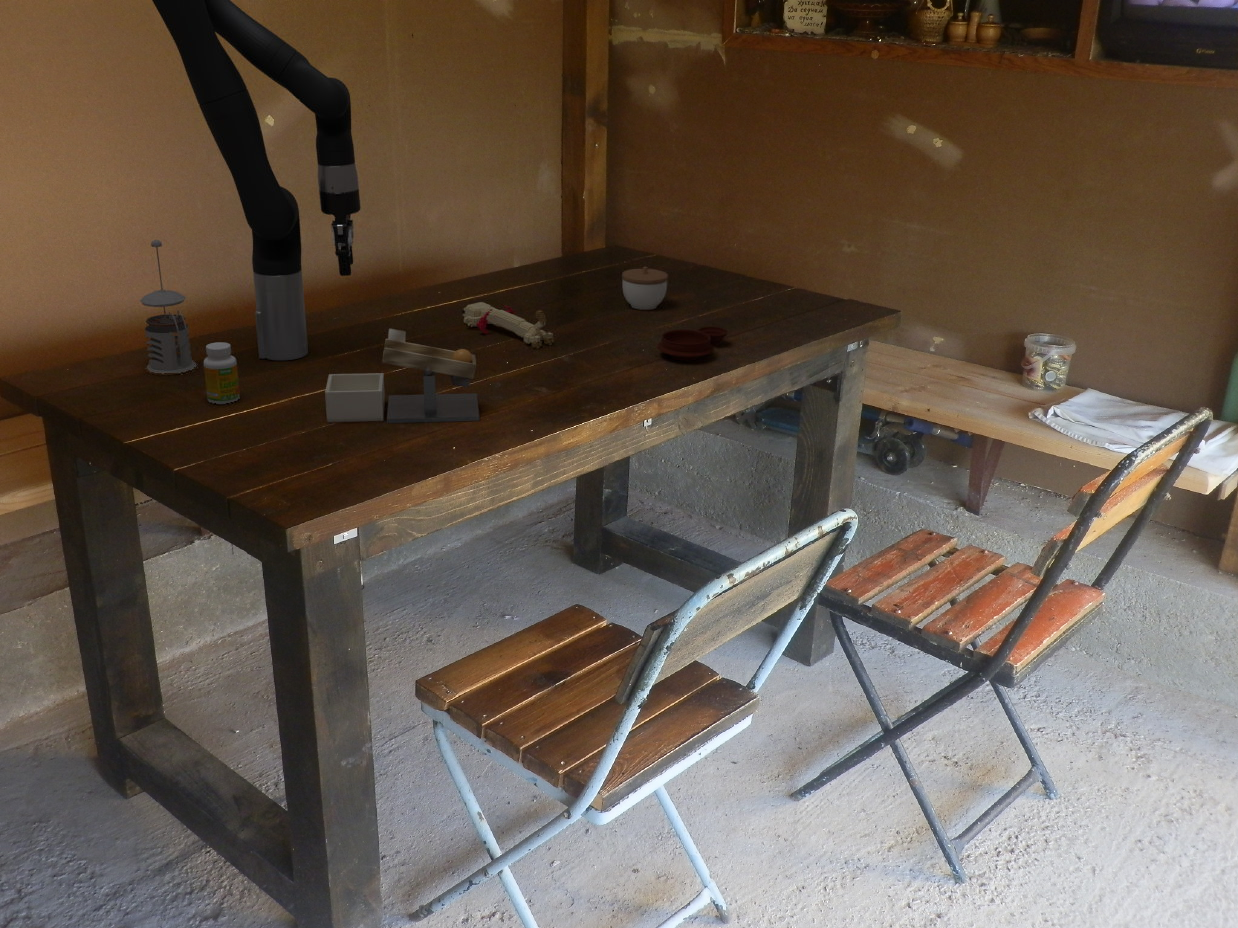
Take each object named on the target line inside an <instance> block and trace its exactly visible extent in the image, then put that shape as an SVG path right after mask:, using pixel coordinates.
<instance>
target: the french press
mask: <svg viewBox="0 0 1238 928" xmlns="http://www.w3.org/2000/svg"><path fill="white" fill-rule="evenodd" d="M150 246H151V247H152V248H156V257H157V265H158V274H159V281H160V290H159V289H158V290H155V291H152V292H150V293H148V294H145V295H144V296H143V297H142V298H141V299H140V301H139V302H140V303H141V304H142V305H143V306H145V307H149V308H150V307H152V308H163V313H164V314H158V315H157V314H156V315H153V316H151V317H149V318H148V317H147V318H146V320H145V323H146V324H147V325H146V326H145V327H144V332H145V339H149V338H150V339H149V340H147V341H146V346H148V347H147V352H150V351H151V352H150V353H148V358H149V360H148V365H146V367H147V369H148V370H149V371H150V372H154V373H162V374H164V373H181V372H186V371H188V370H192V369H194V367H196V366H197V365H198V364H197V363H196V361H194V360H193V359H192V351H191V350H192V349H191V343H190V342H191V341H190V332H189V325H188V324H187V323H186V317H185V316H183V314H182V312H181V311H180V310H179V309H177V314H173V312H171V311H168V314H166V313H167V312H166V307H173V306H177V305H180V304H182V303H184V301H185V300H186V298H187V297H186V296H185V295H183V294H182V293H180V292H177V291H174V290H169V289H163V288H164V287H163V282H162V273H161V266H160V258H159V257H160V255H159V248H161V247H162V246H163V244H162V241H160V240H159V239H154V240H152V241H151V243H150ZM176 333H177V335H175V334H176ZM176 340H177V341H176ZM149 345H150V346H149ZM177 353H179V354H177ZM150 358H151V359H150ZM196 364H197V365H196Z"/></svg>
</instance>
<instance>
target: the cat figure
mask: <svg viewBox="0 0 1238 928" xmlns="http://www.w3.org/2000/svg"><path fill="white" fill-rule="evenodd" d="M504 307H505V308H506V309H507V310H503V309H497V308H495V307H494V306H492V305H491V304H488V303H485V302H484V301H483V302H482V301H480V302H475V303H471V304H470V303H469V304H467V305H466V307H464V308H462V311H461V312H462V317H464V318H463V323H465V324H467V326H469V327H471V328H473V327H477V328H478V329H479V330H480V331H481V333H483V334H485V335H489V334H490V333H488V330H487V324H488V325H490V324H492V325H493V326H496V327H502V328H504V329H505V330H507V331H510V332H513V333H514V334H516V336H518V337H521V338H523V342H524V343H526V344H528V345H530V344H531V347H532V348H534V349H536V350H537V349H540V348H541V347H542V346H543V343H544V344H545V345H548V346H552V345H553V343H555V338H554V337H553V336H554V335H553V334H554V333H552V332H546V331H545V330H542V329H541V328H543V327H545V326H546V325H547V322H548V321H547V317H546V315H545V313H544V311H542V310H541V309H540V310H537V311H535V317H536V319H538V320H537V322H536V323H535V324H533V323H530V322H528V321H527V320H526V319H524V318H522V317H520V316H517V315H515V310H514V309H512V307H511V306H508V305H504ZM543 341H544V342H543Z"/></svg>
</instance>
